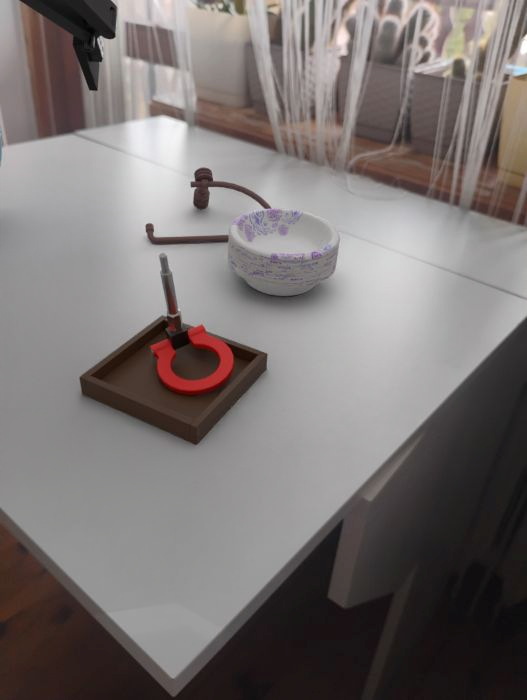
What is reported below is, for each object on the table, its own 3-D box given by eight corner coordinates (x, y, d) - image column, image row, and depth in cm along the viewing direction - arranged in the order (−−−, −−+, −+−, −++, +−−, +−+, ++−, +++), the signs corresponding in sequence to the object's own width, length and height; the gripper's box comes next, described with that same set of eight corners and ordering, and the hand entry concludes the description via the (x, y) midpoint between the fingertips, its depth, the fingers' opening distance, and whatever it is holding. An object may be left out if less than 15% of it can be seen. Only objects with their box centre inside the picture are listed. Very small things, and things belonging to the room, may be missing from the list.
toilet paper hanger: (146, 237, 95) (140, 165, 100) (147, 267, 102) (141, 197, 108) (285, 233, 99) (271, 163, 105) (276, 261, 107) (264, 195, 112)
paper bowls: (285, 321, 81) (291, 266, 76) (204, 278, 89) (205, 226, 84) (354, 282, 90) (362, 232, 86) (275, 247, 98) (279, 198, 94)
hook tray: (81, 393, 67) (79, 376, 65) (162, 330, 77) (162, 314, 76) (196, 444, 62) (196, 427, 60) (266, 369, 72) (267, 353, 71)
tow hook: (248, 376, 68) (208, 327, 74) (241, 285, 59) (196, 237, 65) (178, 409, 65) (143, 356, 71) (159, 318, 56) (120, 265, 62)
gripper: (-335, -107, 35) (-127, 103, 56) (114, -75, 37) (154, 118, 57) (-311, -219, 36) (-117, 27, 57) (122, -183, 38) (158, 44, 59)
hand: (19, 73), depth 57 cm, fingers open, 13 cm apart
